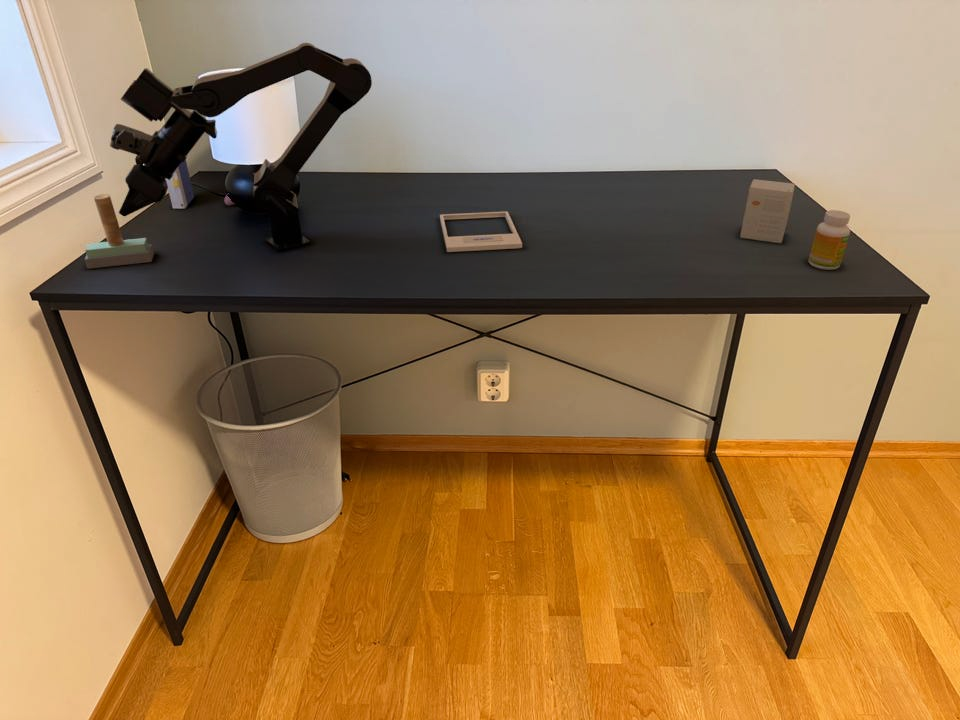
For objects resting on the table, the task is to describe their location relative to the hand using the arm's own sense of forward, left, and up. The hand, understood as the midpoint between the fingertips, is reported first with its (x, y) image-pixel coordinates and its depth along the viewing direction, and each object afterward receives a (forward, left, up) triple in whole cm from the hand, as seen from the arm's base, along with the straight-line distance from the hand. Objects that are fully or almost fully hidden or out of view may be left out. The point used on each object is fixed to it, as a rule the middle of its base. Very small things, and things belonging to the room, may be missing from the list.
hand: (125, 206), depth 124 cm
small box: (-65, -102, -11) cm, 122 cm away
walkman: (+27, -16, -11) cm, 34 cm away
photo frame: (-29, -58, -10) cm, 66 cm away
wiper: (+1, +3, -10) cm, 11 cm away
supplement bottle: (-80, -99, -11) cm, 128 cm away
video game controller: (+20, -28, -11) cm, 36 cm away
